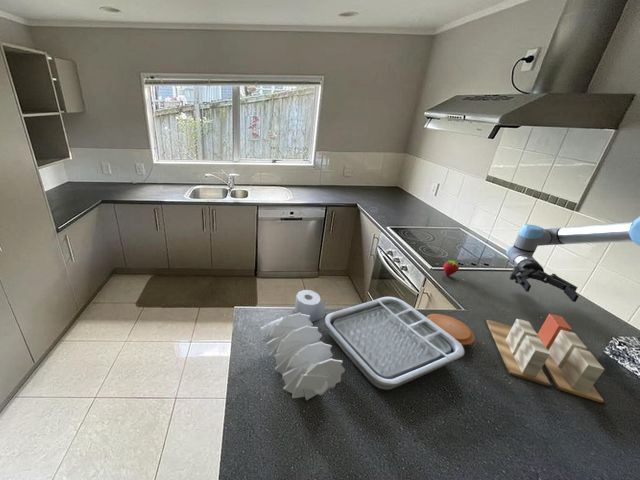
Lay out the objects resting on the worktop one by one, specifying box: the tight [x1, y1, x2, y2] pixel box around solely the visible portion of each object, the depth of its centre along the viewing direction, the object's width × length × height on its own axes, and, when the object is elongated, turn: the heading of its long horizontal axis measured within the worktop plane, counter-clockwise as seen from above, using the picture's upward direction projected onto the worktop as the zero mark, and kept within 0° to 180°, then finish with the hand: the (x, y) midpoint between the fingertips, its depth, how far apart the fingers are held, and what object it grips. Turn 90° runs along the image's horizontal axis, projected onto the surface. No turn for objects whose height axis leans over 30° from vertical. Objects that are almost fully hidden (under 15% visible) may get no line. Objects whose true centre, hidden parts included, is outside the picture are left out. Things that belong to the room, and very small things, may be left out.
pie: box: [425, 313, 476, 347], centre depth 104 cm, size 16×16×5 cm
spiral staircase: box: [260, 312, 346, 401], centre depth 85 cm, size 18×18×25 cm
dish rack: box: [324, 296, 465, 391], centre depth 96 cm, size 32×37×8 cm
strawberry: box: [443, 259, 459, 277], centre depth 141 cm, size 6×8×10 cm
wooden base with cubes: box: [485, 318, 552, 387], centre depth 97 cm, size 26×10×11 cm, turn 156°
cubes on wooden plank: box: [536, 330, 605, 404], centre depth 93 cm, size 26×10×11 cm, turn 156°
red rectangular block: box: [537, 313, 573, 349], centre depth 99 cm, size 7×4×10 cm, turn 156°
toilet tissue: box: [293, 289, 326, 323], centre depth 112 cm, size 9×13×9 cm
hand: (551, 293), depth 105 cm, fingers open, 13 cm apart
